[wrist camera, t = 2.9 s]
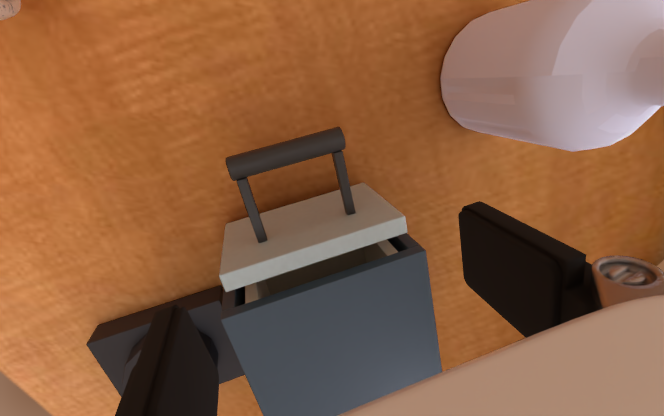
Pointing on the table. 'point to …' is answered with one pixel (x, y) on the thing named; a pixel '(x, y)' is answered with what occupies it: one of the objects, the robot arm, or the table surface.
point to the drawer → (303, 224)
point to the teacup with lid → (9, 8)
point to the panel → (130, 332)
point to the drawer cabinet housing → (338, 336)
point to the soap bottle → (558, 71)
